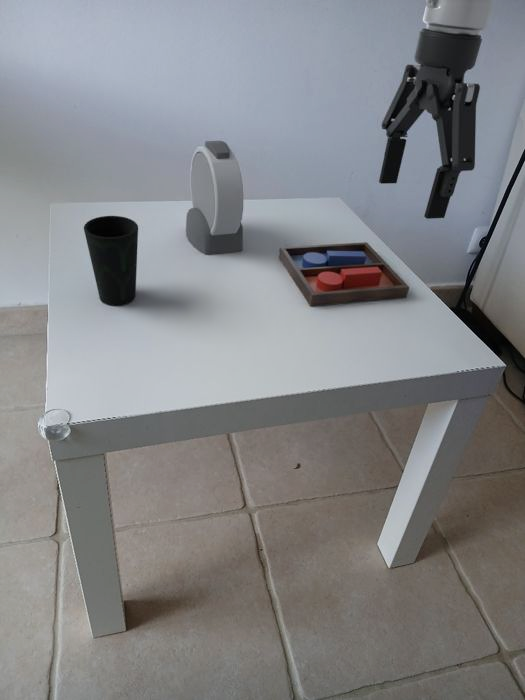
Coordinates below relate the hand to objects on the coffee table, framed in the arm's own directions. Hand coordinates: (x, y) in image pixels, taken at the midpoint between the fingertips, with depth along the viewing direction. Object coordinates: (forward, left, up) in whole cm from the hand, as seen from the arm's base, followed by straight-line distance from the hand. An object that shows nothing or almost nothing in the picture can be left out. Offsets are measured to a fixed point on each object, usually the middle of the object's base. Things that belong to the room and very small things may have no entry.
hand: (409, 199), depth 77 cm
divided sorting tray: (+10, -5, -19) cm, 22 cm away
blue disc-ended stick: (+13, -6, -18) cm, 23 cm away
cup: (+34, +26, -19) cm, 47 cm away
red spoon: (+7, -1, -18) cm, 20 cm away
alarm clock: (+36, -1, -19) cm, 41 cm away
